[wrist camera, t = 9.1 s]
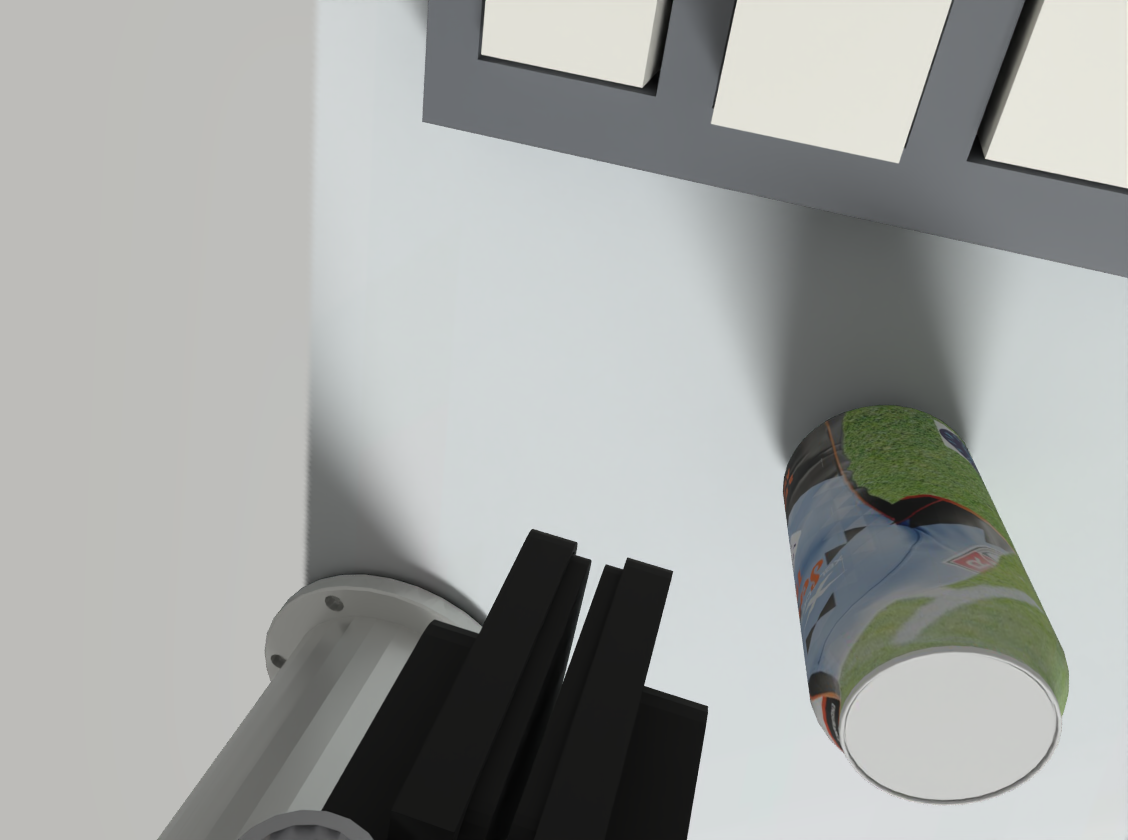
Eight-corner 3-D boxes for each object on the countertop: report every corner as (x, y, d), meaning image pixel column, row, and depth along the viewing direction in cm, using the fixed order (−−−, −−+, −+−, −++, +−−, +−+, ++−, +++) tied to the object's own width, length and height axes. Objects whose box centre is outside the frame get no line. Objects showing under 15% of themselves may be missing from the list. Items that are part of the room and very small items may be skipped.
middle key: (897, 130, 25) (898, 163, 22) (727, 96, 25) (710, 123, 23) (957, -60, 22) (967, -47, 20) (768, -92, 23) (754, -83, 21)
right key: (1148, 162, 25) (1176, 198, 23) (975, 128, 26) (985, 158, 24) (1233, -19, 23) (1275, -1, 20) (1040, -52, 24) (1058, -39, 21)
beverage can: (760, 419, 33) (707, 670, 23) (987, 353, 30) (1039, 613, 20) (825, 562, 35) (802, 847, 25) (1043, 515, 32) (1115, 823, 22)
